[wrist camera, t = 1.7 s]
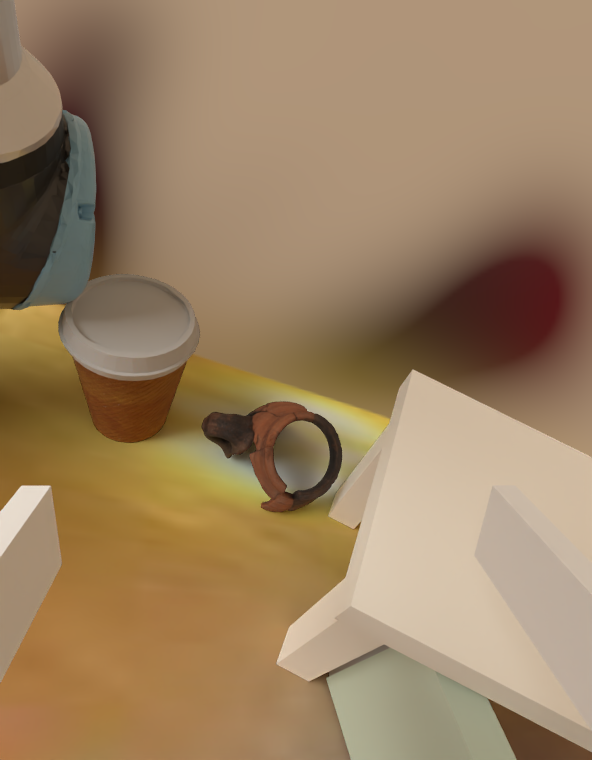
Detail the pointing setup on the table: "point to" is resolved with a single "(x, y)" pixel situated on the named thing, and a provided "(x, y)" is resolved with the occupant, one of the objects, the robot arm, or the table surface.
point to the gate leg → (412, 712)
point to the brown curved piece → (263, 431)
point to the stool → (445, 552)
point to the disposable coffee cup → (129, 351)
